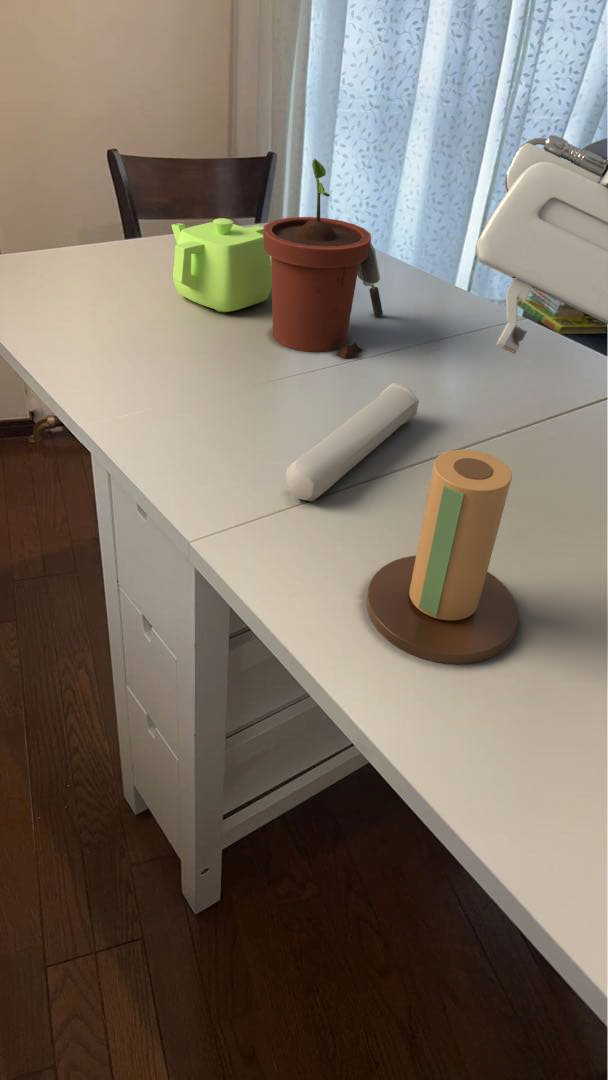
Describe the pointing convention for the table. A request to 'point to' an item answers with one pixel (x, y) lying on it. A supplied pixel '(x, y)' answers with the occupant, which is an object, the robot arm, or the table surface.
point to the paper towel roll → (458, 533)
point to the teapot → (221, 265)
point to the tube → (350, 442)
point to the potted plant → (318, 278)
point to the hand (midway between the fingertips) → (563, 378)
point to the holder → (436, 636)
